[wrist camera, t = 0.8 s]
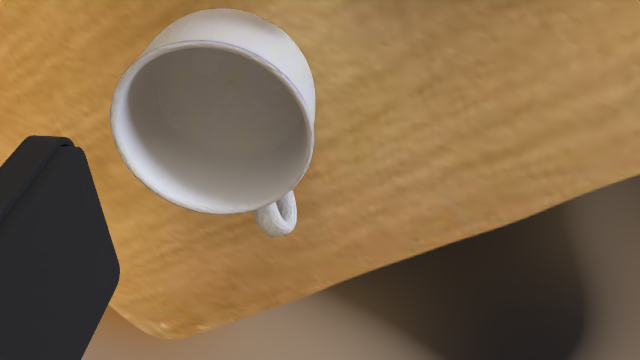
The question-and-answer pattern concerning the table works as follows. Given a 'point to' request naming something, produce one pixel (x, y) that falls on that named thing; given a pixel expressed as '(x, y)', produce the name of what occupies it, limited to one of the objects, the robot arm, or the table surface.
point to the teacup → (219, 117)
